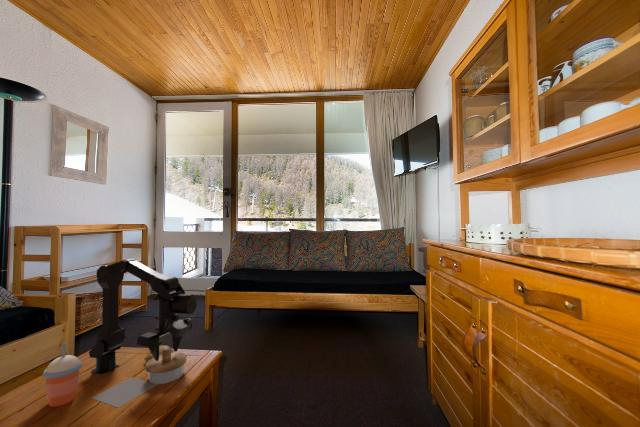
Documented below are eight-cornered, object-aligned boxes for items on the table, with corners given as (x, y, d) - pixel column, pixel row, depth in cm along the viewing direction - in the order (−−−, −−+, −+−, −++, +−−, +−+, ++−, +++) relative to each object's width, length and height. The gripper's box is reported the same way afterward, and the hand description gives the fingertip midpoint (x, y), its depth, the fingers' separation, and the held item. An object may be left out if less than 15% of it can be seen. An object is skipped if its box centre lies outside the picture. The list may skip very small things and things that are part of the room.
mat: (90, 399, 90) (90, 397, 90) (131, 378, 102) (131, 377, 102) (118, 409, 85) (118, 407, 85) (157, 385, 97) (157, 384, 97)
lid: (136, 369, 99) (137, 353, 99) (169, 353, 111) (169, 339, 112) (163, 376, 94) (163, 360, 95) (194, 358, 106) (194, 344, 107)
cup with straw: (62, 392, 93) (63, 337, 94) (88, 392, 93) (90, 337, 94) (33, 410, 84) (34, 349, 85) (62, 411, 84) (64, 349, 85)
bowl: (141, 381, 100) (141, 368, 100) (168, 366, 110) (168, 354, 110) (163, 387, 96) (164, 374, 96) (190, 371, 106) (190, 359, 106)
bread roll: (156, 378, 108) (164, 360, 108) (136, 364, 110) (144, 346, 110) (175, 365, 118) (182, 348, 117) (155, 353, 120) (163, 336, 119)
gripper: (159, 323, 92) (159, 372, 91) (203, 307, 109) (203, 348, 109) (136, 319, 96) (135, 366, 96) (181, 304, 113) (181, 344, 113)
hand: (166, 355), depth 103 cm, fingers open, 7 cm apart
